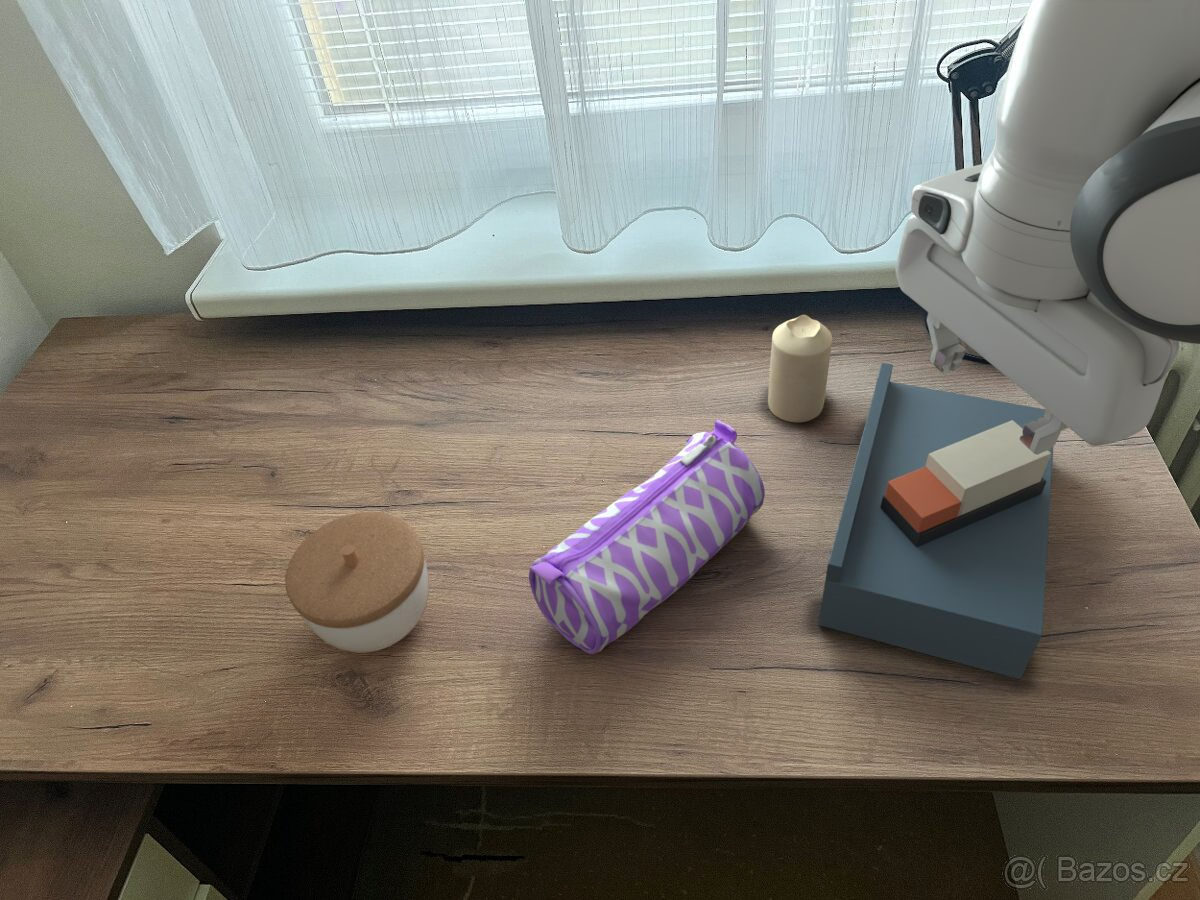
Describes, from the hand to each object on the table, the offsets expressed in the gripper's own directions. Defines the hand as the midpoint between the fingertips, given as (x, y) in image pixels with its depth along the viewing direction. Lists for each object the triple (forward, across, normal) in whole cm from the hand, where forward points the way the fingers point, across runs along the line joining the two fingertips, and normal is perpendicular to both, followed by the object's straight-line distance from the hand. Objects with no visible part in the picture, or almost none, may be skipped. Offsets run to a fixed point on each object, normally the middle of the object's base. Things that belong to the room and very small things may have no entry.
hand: (987, 404), depth 63 cm
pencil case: (+17, +9, +23) cm, 30 cm away
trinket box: (+17, +15, +46) cm, 51 cm away
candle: (+17, +21, +1) cm, 27 cm away
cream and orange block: (+10, 0, 0) cm, 10 cm away
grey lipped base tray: (+16, +1, 0) cm, 16 cm away
